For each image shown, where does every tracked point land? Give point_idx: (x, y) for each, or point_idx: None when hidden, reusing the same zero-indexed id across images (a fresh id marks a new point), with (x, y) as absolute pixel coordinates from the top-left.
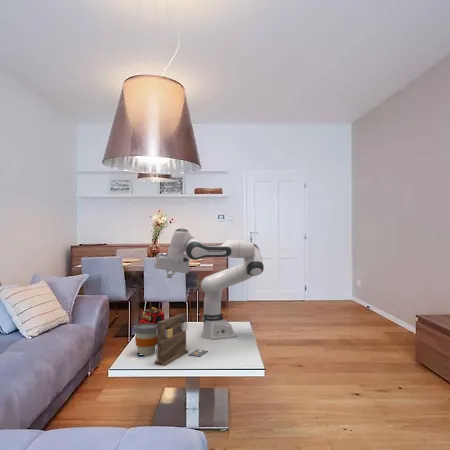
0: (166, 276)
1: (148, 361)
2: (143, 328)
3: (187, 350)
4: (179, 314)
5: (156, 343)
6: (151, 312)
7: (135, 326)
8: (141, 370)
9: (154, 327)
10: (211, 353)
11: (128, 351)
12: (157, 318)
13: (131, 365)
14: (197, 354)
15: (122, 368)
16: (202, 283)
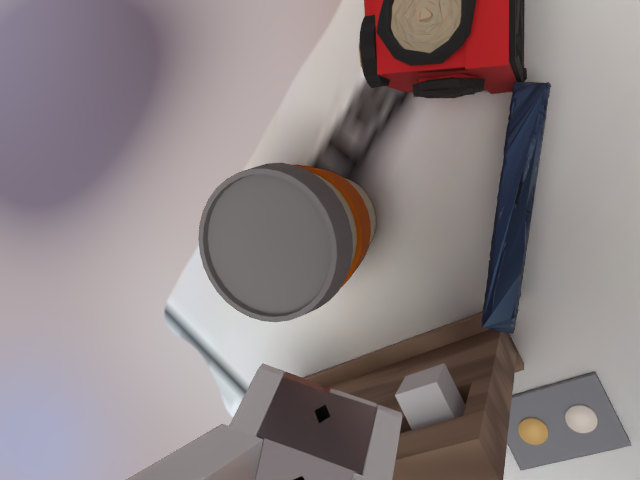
0: (259, 374)
1: (294, 329)
2: (224, 296)
3: (516, 370)
4: (437, 459)
5: (357, 267)
6: (378, 28)
7: (204, 211)
8: (233, 396)
9: (289, 319)
10: (624, 477)
11: (277, 125)
12: (426, 93)
13: (223, 320)
14: (531, 443)
15: (187, 324)
16: None
